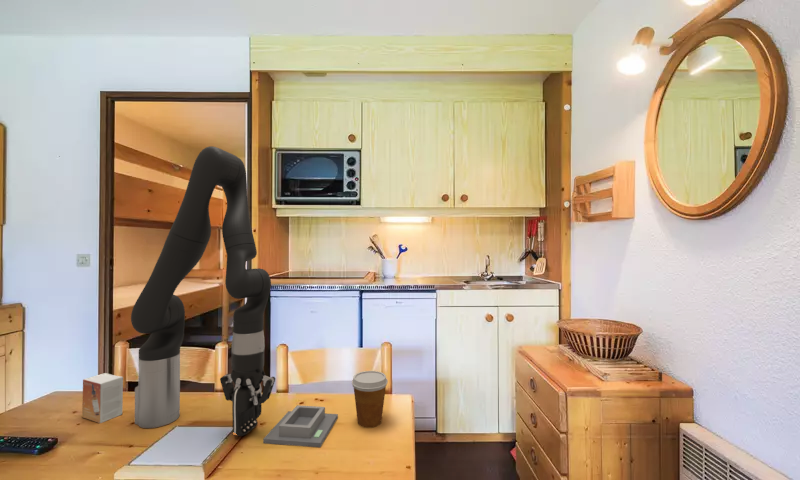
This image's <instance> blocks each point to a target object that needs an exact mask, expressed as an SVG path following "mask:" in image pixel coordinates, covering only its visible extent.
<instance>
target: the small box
mask: <svg viewBox="0 0 800 480" xmlns="http://www.w3.org/2000/svg"><path fill="white" fill-rule="evenodd" d="M123 393H124V377H123V376H121V375H120V376H119V375H114V374H111V373H108V372H104V373H101V374H97V375H94V376H90V377H86V378H83V379H82V406H81V407H82V414H81V417H82V419H83V418H84V419H87V420H90V421H92V422H95V423H98V424H102V423H105V422H106V421H109V420H111V419H114V418H117V417H119V416H121V415H123V404H124V401H123V395H124V394H123Z"/></svg>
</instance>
